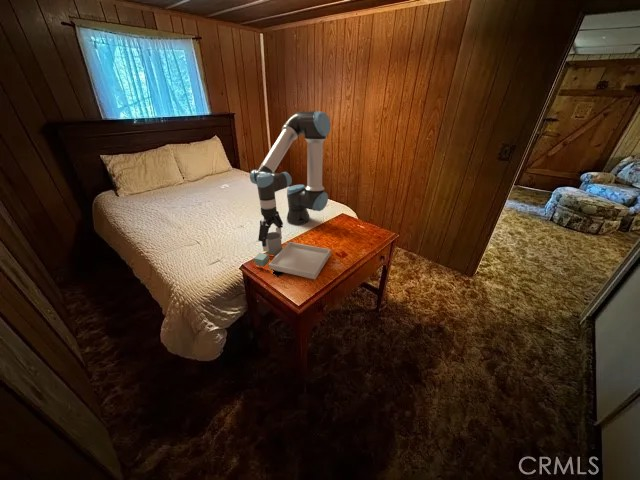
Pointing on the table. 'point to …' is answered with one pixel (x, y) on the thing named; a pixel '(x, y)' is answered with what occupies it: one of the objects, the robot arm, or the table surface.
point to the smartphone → (278, 273)
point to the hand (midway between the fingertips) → (273, 244)
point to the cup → (274, 243)
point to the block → (261, 259)
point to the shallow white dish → (300, 260)
